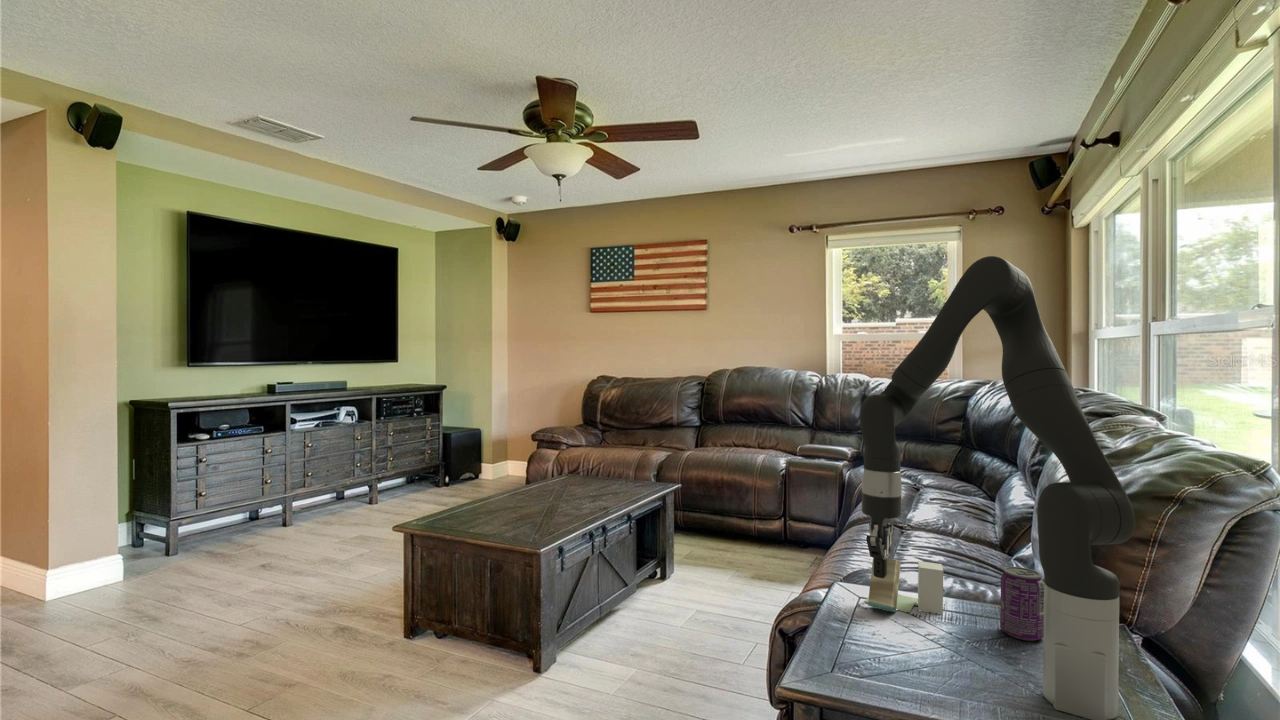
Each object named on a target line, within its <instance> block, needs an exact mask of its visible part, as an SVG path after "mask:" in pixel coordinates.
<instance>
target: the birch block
mask: <svg viewBox="0 0 1280 720" xmlns="http://www.w3.org/2000/svg"><path fill="white" fill-rule="evenodd" d="M886 559H887V575H886V576H885V577H884V578H879V577H875V576H874V558H873V557H872V564H871V565H872V566H871V572H870V573H871V574H870V583H869V584H870V585H869V592H868V597H869V599H868V603H867V606H868V607H871V608H875V609H879V610H883V609H884V611H888V612H891V613H892V612H893V613H897V610H896V607H897V597H898V594H899V585H900V577H901V576H900V575H901V564H902V562H901V561H899V560H897V559H895V558H894V559H893V558H889V557H888V558H886Z"/></svg>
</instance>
